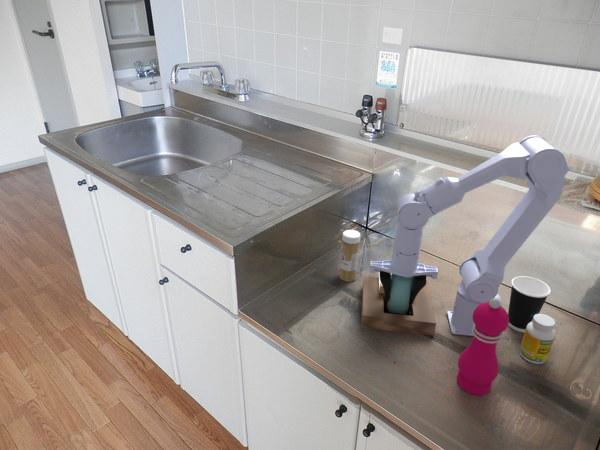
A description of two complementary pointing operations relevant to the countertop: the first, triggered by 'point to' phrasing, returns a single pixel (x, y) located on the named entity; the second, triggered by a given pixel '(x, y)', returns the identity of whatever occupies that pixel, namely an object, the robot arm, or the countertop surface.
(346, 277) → the sprinkles bottle
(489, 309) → the pepper mill
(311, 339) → the countertop surface
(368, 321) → the socket block
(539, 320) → the supplement bottle
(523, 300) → the dixie cup
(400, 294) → the peg
